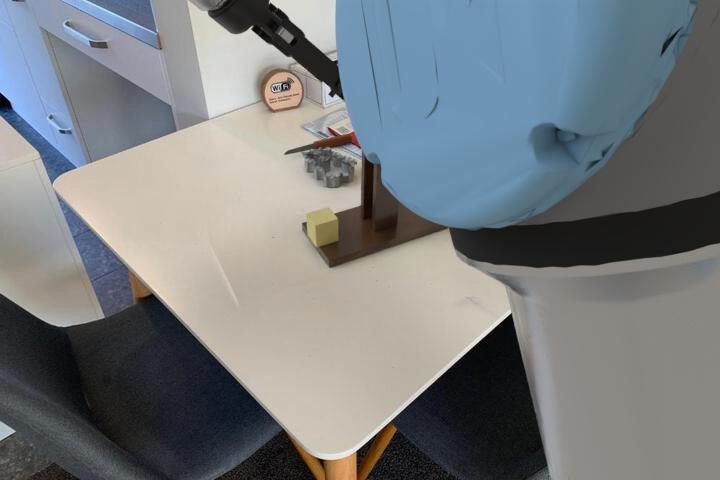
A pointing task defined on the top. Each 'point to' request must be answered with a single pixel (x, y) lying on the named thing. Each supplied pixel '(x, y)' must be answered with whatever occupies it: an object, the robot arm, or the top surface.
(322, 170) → the egg carton
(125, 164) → the top surface
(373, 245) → the lever base
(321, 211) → the butter
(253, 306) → the top surface
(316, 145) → the kitchen knife
